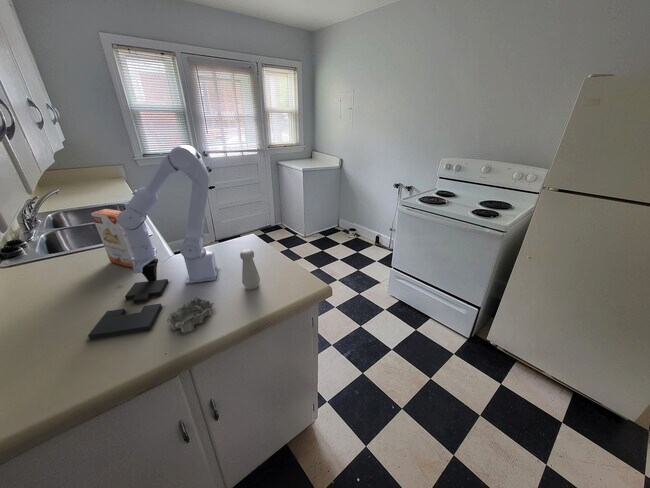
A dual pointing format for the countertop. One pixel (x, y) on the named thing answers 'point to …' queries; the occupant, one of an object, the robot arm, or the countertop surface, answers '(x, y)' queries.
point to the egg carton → (190, 314)
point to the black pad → (146, 290)
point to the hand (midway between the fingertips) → (152, 280)
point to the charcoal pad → (125, 322)
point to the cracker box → (113, 237)
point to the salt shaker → (249, 270)
